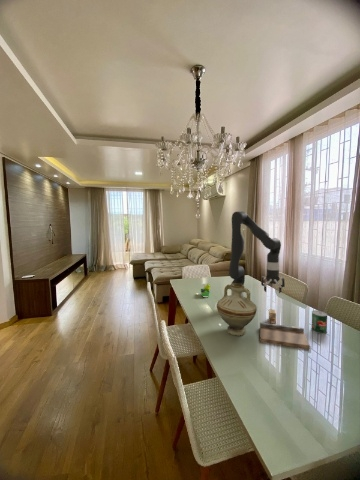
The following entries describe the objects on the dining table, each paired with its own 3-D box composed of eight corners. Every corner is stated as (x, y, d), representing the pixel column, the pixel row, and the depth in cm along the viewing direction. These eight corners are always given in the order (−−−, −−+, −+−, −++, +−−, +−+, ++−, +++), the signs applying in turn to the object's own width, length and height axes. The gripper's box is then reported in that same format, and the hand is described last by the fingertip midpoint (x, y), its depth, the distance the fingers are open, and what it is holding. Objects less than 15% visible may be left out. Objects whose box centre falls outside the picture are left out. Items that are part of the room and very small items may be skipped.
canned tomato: (323, 335, 123) (323, 317, 122) (308, 329, 130) (309, 312, 129) (329, 331, 127) (329, 313, 126) (315, 325, 134) (315, 309, 133)
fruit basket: (200, 293, 200) (200, 282, 199) (209, 293, 199) (209, 282, 198) (201, 298, 188) (201, 286, 187) (211, 298, 188) (210, 285, 187)
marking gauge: (269, 327, 134) (270, 316, 134) (268, 318, 145) (268, 309, 145) (276, 328, 133) (276, 317, 132) (275, 319, 144) (275, 309, 143)
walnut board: (260, 341, 118) (260, 334, 118) (260, 328, 133) (260, 321, 133) (309, 349, 110) (309, 341, 110) (302, 333, 125) (303, 327, 125)
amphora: (262, 341, 120) (266, 289, 119) (223, 342, 116) (226, 289, 115) (243, 324, 143) (246, 280, 143) (210, 324, 139) (212, 279, 139)
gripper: (261, 269, 138) (261, 293, 139) (285, 270, 133) (285, 295, 134) (261, 266, 145) (261, 289, 146) (283, 267, 140) (283, 291, 142)
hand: (272, 292), depth 140 cm, fingers open, 8 cm apart
